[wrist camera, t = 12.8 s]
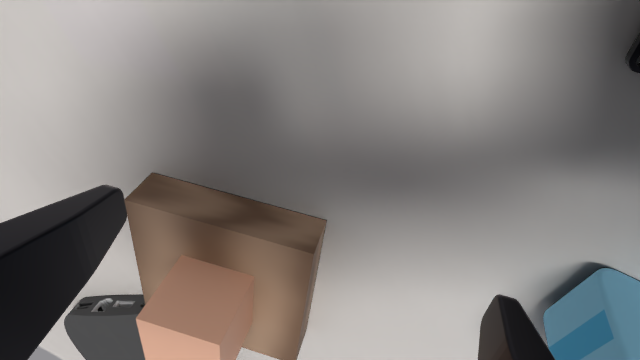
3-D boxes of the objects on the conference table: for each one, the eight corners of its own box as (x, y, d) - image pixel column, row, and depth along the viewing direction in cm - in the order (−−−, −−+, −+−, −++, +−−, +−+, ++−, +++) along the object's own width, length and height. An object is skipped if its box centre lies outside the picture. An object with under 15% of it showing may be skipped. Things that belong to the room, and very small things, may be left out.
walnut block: (326, 220, 27) (314, 254, 24) (306, 330, 34) (294, 364, 32) (152, 172, 28) (124, 199, 26) (168, 287, 36) (147, 316, 33)
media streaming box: (143, 382, 49) (127, 408, 46) (65, 293, 41) (41, 319, 39) (253, 389, 43) (241, 419, 41) (184, 289, 36) (165, 318, 33)
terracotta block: (254, 276, 27) (219, 345, 23) (252, 322, 30) (221, 390, 26) (181, 254, 28) (135, 318, 24) (186, 302, 31) (147, 365, 27)
